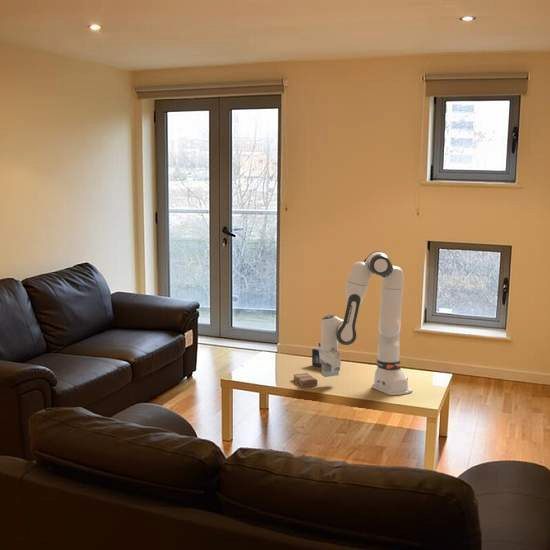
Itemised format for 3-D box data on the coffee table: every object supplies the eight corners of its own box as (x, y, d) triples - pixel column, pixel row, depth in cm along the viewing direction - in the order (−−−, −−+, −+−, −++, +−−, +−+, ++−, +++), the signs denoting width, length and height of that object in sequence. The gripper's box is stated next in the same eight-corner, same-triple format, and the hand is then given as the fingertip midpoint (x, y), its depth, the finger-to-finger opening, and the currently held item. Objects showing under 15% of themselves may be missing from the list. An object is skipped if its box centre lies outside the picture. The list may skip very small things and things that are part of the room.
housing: (338, 375, 359) (338, 364, 358) (324, 377, 356) (324, 366, 355) (335, 373, 363) (335, 362, 362) (321, 375, 360) (321, 364, 359)
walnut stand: (317, 385, 359) (317, 380, 359) (303, 387, 357) (303, 381, 356) (307, 378, 372) (307, 373, 372) (293, 379, 370) (293, 374, 369)
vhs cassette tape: (311, 365, 397) (311, 349, 395) (315, 364, 399) (315, 348, 397) (336, 371, 385) (337, 354, 383) (340, 370, 387) (340, 353, 385)
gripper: (343, 349, 348) (344, 375, 350) (327, 341, 368) (327, 365, 370) (332, 351, 346) (332, 377, 348) (316, 342, 365) (317, 367, 368)
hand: (330, 371), depth 359 cm, fingers closed on housing, 4 cm apart
